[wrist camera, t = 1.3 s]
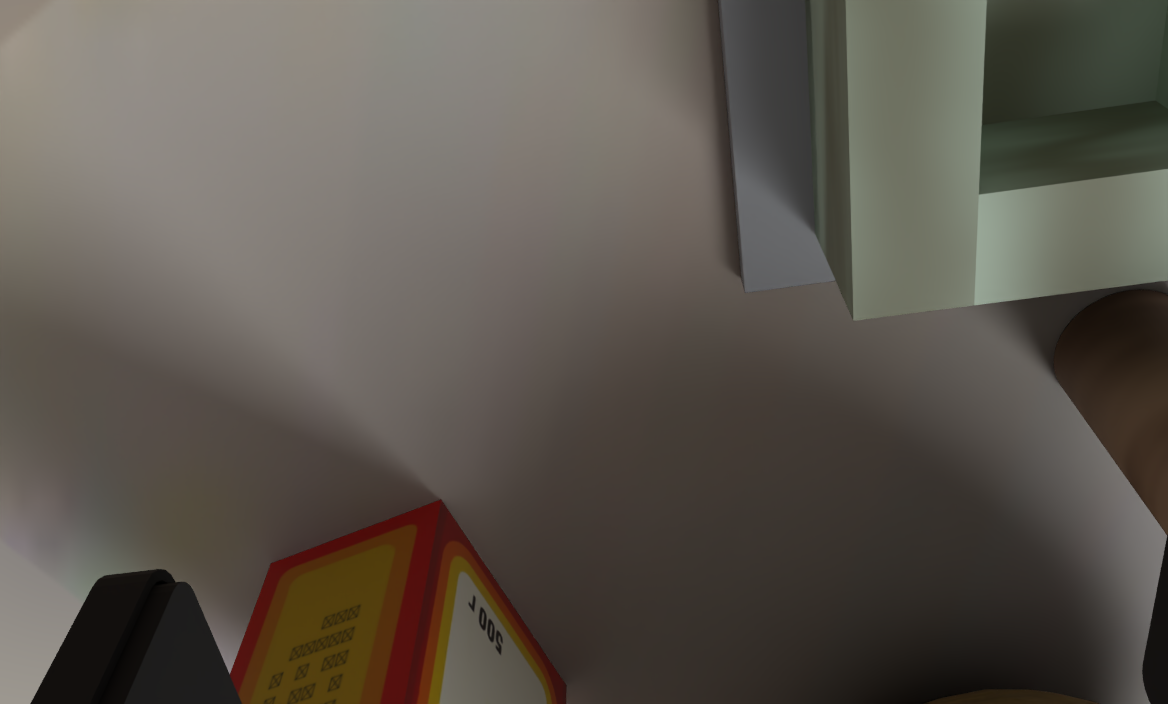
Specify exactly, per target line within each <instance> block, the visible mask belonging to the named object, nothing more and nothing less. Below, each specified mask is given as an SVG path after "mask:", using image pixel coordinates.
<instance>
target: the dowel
mask: <svg viewBox="0 0 1168 704" xmlns="http://www.w3.org/2000/svg"><path fill="white" fill-rule="evenodd" d="M1054 370H1055V374H1056V377H1057V380H1058V382H1059V383H1060V385H1061V386H1062V388H1063V389H1064V391H1065V392H1066V394H1067V395H1068V396H1069V398H1070V399H1071V401H1072V402H1073V403H1074V405H1075V406H1076V408H1077V409H1078V410H1079V412H1080V413H1081V415H1082V416H1083V417H1084V419H1085V420H1086V422H1087V423H1088V425H1089V426H1090V427H1091V429H1092V430H1093V432H1094V433H1095V434H1096V436H1097V437H1098V439H1099V440H1100V441H1101V443H1102V444H1103V446H1104V447H1105V448H1106V450H1107V451H1108V453H1109V454H1110V455H1111V457H1112V458H1113V460H1114V461H1115V463H1116V464H1117V465H1118V467H1119V468H1120V470H1121V471H1122V472H1123V474H1124V475H1125V477H1126V478H1127V479H1128V481H1129V482H1130V484H1131V485H1132V486H1133V488H1134V489H1135V491H1136V492H1137V494H1138V495H1139V496H1140V498H1141V499H1142V501H1143V502H1144V503H1145V505H1146V506H1147V508H1148V509H1149V510H1150V512H1151V513H1152V515H1153V516H1154V517H1155V519H1156V520H1157V522H1158V523H1159V524H1160V526H1161V527H1162V529H1163V530H1164V532H1165V533H1166V534H1167V535H1168V295H1167V294H1164V293H1161V292H1158V291H1152V290H1141V289H1139V290H1128V291H1123V292H1119V293H1115V294H1112V295H1109V296H1107V297H1104V298H1102V299H1100V300H1098V301H1096V302H1094V303H1093V304H1091V305H1090V306H1088V307H1087V308H1085V309H1084V310H1083V311H1081V312H1080V313H1079V314H1078V315H1077V316H1076V317H1075V318H1074V319H1073V320H1072V321H1071V322H1070V323H1069V324H1068V326H1067V327H1066V328H1065V330H1064V331H1063V333H1062V334H1061V336H1060V338H1059V341H1058V343H1057V346H1056V349H1055V353H1054Z"/></svg>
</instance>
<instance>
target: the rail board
mask: <svg viewBox="0 0 1168 704" xmlns="http://www.w3.org/2000/svg"><path fill="white" fill-rule="evenodd" d="M718 6H719V18H720V30H721V42H722V54H723V66H724V78H725V89H726V101H727V113H728V125H729V137H730V149H731V161H732V173H733V184H734V196H735V208H736V220H737V232H738V244H739V256H740V268H741V280H742V283H743V287H744V291H745V293H748V292H755V291H763V290H770V289H778V288H786V287H793V286H801V285H808V284H816V283H824V282H831V281H836V280H835V278H834V276H833V273H832V271H831V269H830V267H829V264H828V262H827V260H826V258H825V255H824V253H823V251H822V249H821V246H820V244H819V242H818V240H817V237H816V235H815V219H814V196H813V173H812V150H811V127H810V105H809V82H808V59H807V36H806V13H805V0H718Z"/></svg>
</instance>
